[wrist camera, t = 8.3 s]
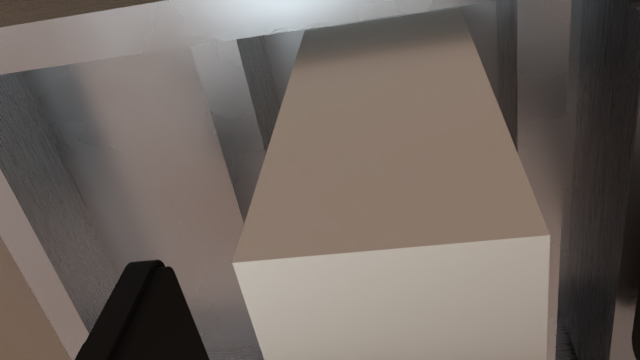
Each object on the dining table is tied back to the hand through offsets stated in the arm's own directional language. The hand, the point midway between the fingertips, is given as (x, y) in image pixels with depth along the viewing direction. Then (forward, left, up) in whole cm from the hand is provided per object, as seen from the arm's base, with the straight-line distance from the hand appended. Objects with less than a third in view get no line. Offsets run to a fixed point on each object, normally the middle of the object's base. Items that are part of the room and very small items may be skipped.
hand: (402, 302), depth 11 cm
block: (0, 0, -3) cm, 3 cm away
